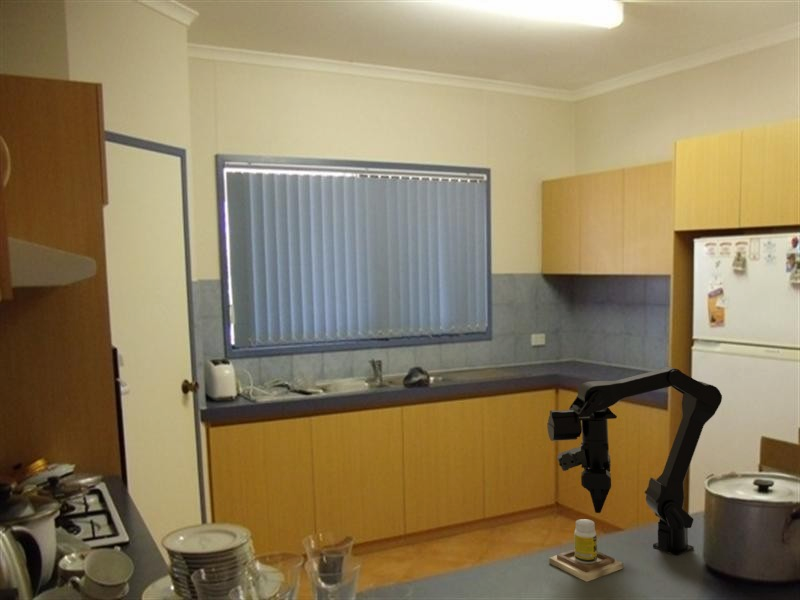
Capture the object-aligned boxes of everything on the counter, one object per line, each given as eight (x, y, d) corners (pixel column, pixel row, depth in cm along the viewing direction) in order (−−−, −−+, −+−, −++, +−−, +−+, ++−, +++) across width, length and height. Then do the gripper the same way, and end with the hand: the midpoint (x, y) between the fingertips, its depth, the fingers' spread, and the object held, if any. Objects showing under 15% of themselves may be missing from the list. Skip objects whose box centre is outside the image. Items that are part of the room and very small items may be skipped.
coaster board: (584, 551, 151) (584, 542, 150) (622, 568, 141) (622, 559, 141) (549, 563, 145) (548, 554, 145) (586, 581, 135) (586, 572, 135)
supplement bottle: (598, 565, 140) (597, 526, 140) (575, 564, 141) (574, 525, 141) (596, 556, 145) (595, 518, 145) (574, 554, 146) (573, 517, 146)
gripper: (561, 427, 160) (564, 490, 161) (556, 447, 143) (559, 518, 143) (609, 428, 157) (611, 492, 158) (609, 449, 139) (612, 521, 140)
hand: (598, 505), depth 150 cm, fingers open, 9 cm apart
